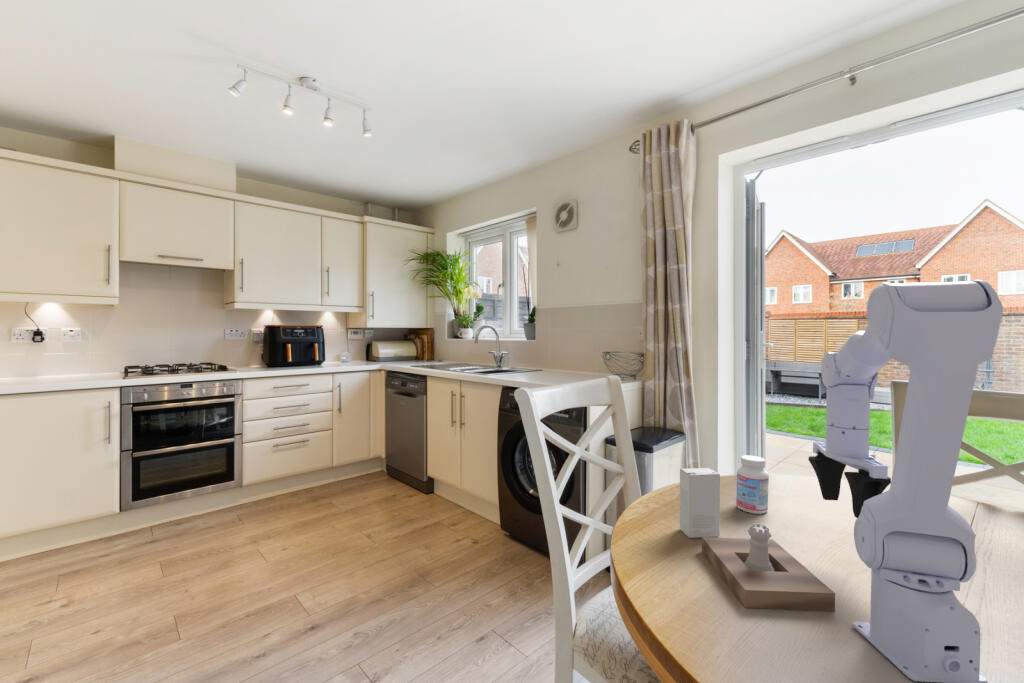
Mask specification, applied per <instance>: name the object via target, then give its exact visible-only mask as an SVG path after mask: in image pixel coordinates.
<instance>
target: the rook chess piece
mask: <svg viewBox="0 0 1024 683" xmlns="http://www.w3.org/2000/svg"><path fill="white" fill-rule="evenodd" d="M749 525H750V526H749V527H750V528H749V529H747V534H748V535H750V538H749V539H750V540H749V542H750V552H749V556H748V558H747V560H746V561H745V562H744V564H745V565H746V566H747V567H748V568H749V569H750V570H751V571H772V572H774V569H773V567H772V565H771V563H770V561H769V554H768V546H769V545H770V544H769V543H768V539H771V537H772V534H771V532H770V529H769V527H768V526H767V525H765V524H763V525H762V526H761V523H756V524H755V523H751V524H749Z"/></svg>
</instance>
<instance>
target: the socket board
mask: <svg viewBox="0 0 1024 683" xmlns="http://www.w3.org/2000/svg"><path fill="white" fill-rule="evenodd" d="M750 539H751V538H745V537H744V538H743V537H742V538H740V537H739V538H738V537H701V552H702V553H703V555H704V556H705V558H707V560H708V561H709V563H710V564H711V565H712V567H713V568H714V569H715V570H716V572H717V573H718V575H719V576H720V577H721V579H722V580H723V581H724V582H725V584H726V585H727V587H728V588H729V589H730V590H731V591H732V593H733V595H734V596H735V597H736V598H737V599H738V601H739V603H741V604H743V605H742V606H743V607H744V608H745V609H765V610H767V609H769V610H770V609H771V610H789V611H791V610H794V611H795V610H796V611H813V612H814V611H815V612H819V611H821V612H835V611H836V593H835V592H834V590H832V589H831V588H830V587H828V585H826V584H825V583H824V582H823V581H821V580H820V579H819V578H818V577H817V576H816V575H814V574H813V572H811V571H810V570H809V569H808V568H806V567H805V566H804V565H803V564H802V563H801V562H800V561H798V560H797V559H796V558H795V557H794V556H793V555H791V553H789V552H788V551H787V550H786V549H784V547H782V546H781V545H780V544H779V543H777V542H776V541H775V540H774V539H771V538H769V539H768V543H769V544H770V545H769V546H768V554H769V561H770V563H771V565H772V567H773V569H774V572H772V571H751V570H750V569H749V568H748V567H747V566H746V565H745V564H744V562H745V561H746V560H747V558H748V556H749V552H750V542H749V540H750Z"/></svg>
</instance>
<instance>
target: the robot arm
mask: <svg viewBox="0 0 1024 683" xmlns="http://www.w3.org/2000/svg"><path fill="white" fill-rule="evenodd" d="M1003 314H1004V306H1003V304H1002V301H1001V299H1000V298H999V296H998V293H997V292H996V290H995V288H993V286H992V285H991V284H990V283H989V282H987V281H986V280H984V279H983V280H982V279H972V280H969V281H949V282H948V281H945V282H944V281H943V282H941V281H940V282H938V281H936V282H934V281H933V282H903V283H902V282H901V283H898V282H897V283H892V282H880V283H879V284H877V286H875V287H874V288H873V289H872V291H871V292H870V294H869V296H868V300H867V304H866V319H867V320H866V321H867V323H868V325H867V327H866V328H865V330H857V331H856V332H855V333H853V334H852V335H851V336H849V338H847V339H846V341H845V343H843V345H842V346H841V347H840V348H839V350H838V351H837V352H833V351H826V352H825V353H824V355H823V357H822V360H821V366H820V368H821V369H820V372H821V373H820V374H821V375H820V376H821V380H822V383H823V385H824V387H826V399H825V400H826V401H825V402H826V406H825V407H826V408H825V409H826V410H825V412H826V413H825V441H812V453H814V454H816V455H815V456H812V455H811V456H808V461H809V463H810V465H811V466H812V468H813V470H814V473H815V475H816V477H817V481H818V485H819V489H820V492H821V496H822V499H823V500H825V501H838V500H839V498H840V493H841V484H842V478H843V474H844V476H845V478H846V481H847V483H848V487H849V490H850V493H851V504H852V512H853V515H854V518H856V520H855V521H854V526H853V538H854V545H855V549H856V553H857V554H858V557H859V559H860V560H861V562H862V563H864V565H865V566H866V567H867V568H869V569H871V570H870V576H871V577H870V615H869V616H870V618H869V620H870V621H852V627H853V628H854V629H855V630H856V631H858V633H860V635H862V636H863V637H864V638H865V639H866V640H867V641H868V642H870V643H871V644H872V646H874V648H876V649H877V650H878V651H879V652H880V653H881V654H882V655H883V656H885V657H886V659H888V660H889V661H890V662H891V663H892V664H893V665H894V666H895V667H897V668H898V669H899V670H900V671H901V672H902V673H903V674H904V675H905V676H906V677H907V678H908V679H910V680H912V681H914V682H921V683H923V682H925V683H988V679H987V678H986V677H985V676H984V675H983V674H980V668H981V667H980V666H981V665H980V660H981V627H980V624H979V621H978V620H977V617H976V616H975V615H974V613H972V612H971V611H970V610H969V609H968V608H967V607H965V605H963V603H962V602H961V601H960V600H959V599H958V598H957V596H956V594H955V592H954V591H956V592H960V591H961V583H967V582H970V580H971V579H972V577H973V576H974V575H975V572H976V570H977V555H976V551H975V550H976V549H975V545H976V533H975V532H974V530H973V528H972V526H971V524H970V523H969V522H968V521H967V519H966V518H964V516H963V515H961V513H959V512H958V511H957V510H955V509H954V508H952V507H951V506H950V505H949V502H950V497H951V492H952V488H953V484H954V479H955V475H956V470H957V465H958V461H959V455H960V451H961V446H962V441H963V438H964V433H965V428H966V424H967V418H968V415H969V411H970V410H969V409H970V405H971V401H972V396H973V392H974V387H975V382H976V378H977V375H978V367H979V365H981V364H984V363H986V362H987V361H990V360H991V359H992V358H993V355H994V351H995V347H996V345H997V341H998V340H997V339H998V337H999V332H1000V327H1001V322H1002V318H1003ZM892 360H893V361H897V362H899V363H902V364H904V365H906V366H907V367H908V370H909V377H908V382H907V388H906V393H905V394H906V395H905V401H904V407H903V412H902V417H901V418H902V419H901V421H900V429H899V436H898V441H897V445H896V452H895V457H894V463H893V469H892V475H891V477H889V476H888V475H889V473H888V468H889V466H888V465H886V464H884V463H882V462H880V461H879V460H878V459H876V454H875V453H872V452H870V425H871V424H870V421H871V419H870V418H871V416H870V415H871V401H873V400H874V397H875V389H876V386H877V383H878V380H879V372H880V370H881V369H883V368H884V367H885V366H886V365H887V364H888V363H890V362H891V361H892ZM847 466H848V467H850V468H854V469H855V470H857V471H845V469H846V467H847ZM889 486H890V487H889ZM888 487H889V489H888V490H886V488H888ZM885 490H886V491H885Z"/></svg>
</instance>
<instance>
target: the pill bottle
mask: <svg viewBox="0 0 1024 683" xmlns="http://www.w3.org/2000/svg"><path fill="white" fill-rule="evenodd" d="M740 464H741V465H740V466H739V467H738V468H737V470H736V496H735V497H736V500H735V501H736V508H738V509H739V510H740V509H741V510H740V511H742V510H743V512H745V513H748V512H749V514H753V515H754V514H755V515H762V514H765V513H767V512H768V509H769V485H770V484H769V479H770V478H769V476H770V475H769V472H768V471H767V470H766V469H765V467H766V458H764V457H760V456H757V455H750V454H748V455H747V454H746V455H745V454H744V455H741V456H740Z"/></svg>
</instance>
